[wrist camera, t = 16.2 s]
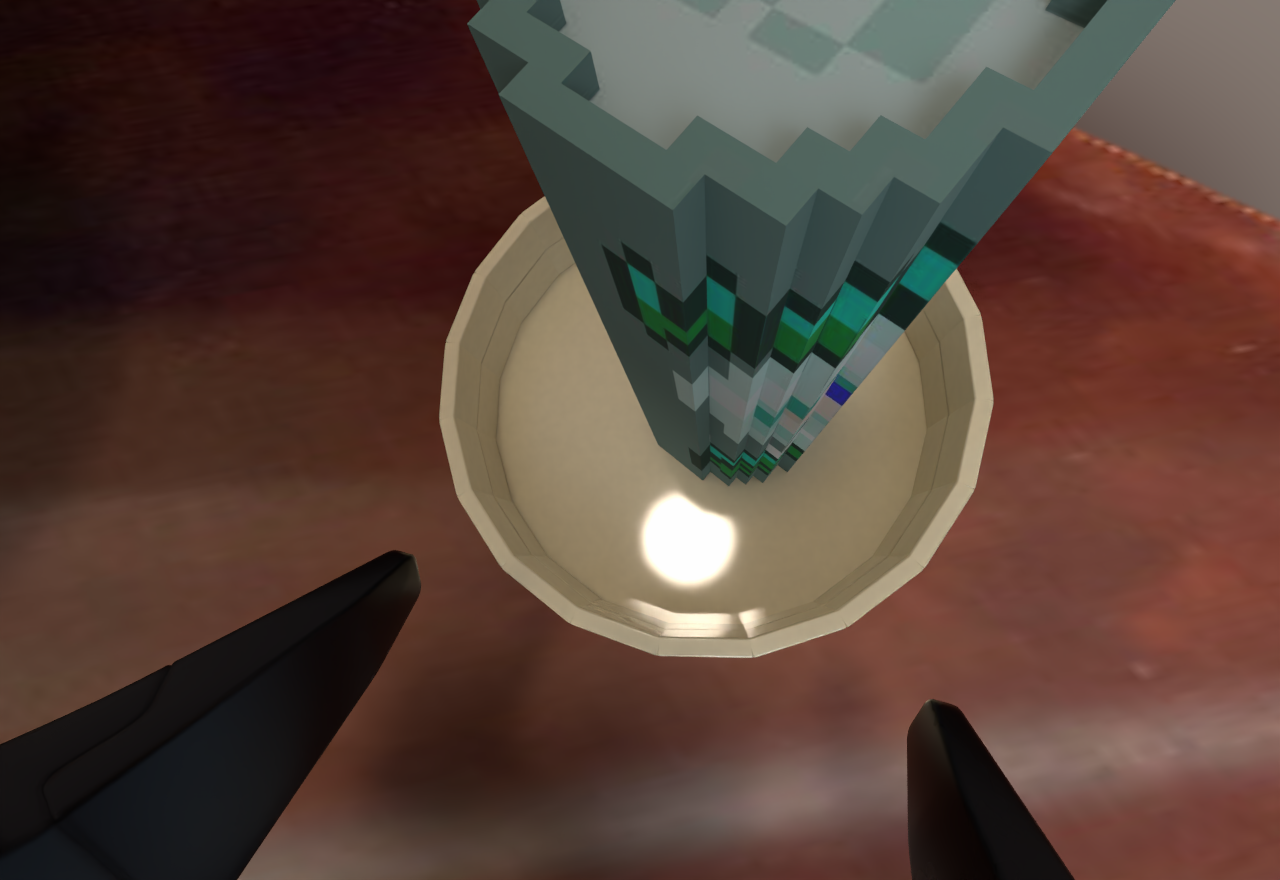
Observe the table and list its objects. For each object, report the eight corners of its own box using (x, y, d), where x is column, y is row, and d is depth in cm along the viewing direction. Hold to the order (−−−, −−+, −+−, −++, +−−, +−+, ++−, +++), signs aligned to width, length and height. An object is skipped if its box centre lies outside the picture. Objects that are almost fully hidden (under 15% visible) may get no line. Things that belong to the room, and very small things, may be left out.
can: (749, 518, 18) (890, 355, 4) (615, 410, 20) (354, -1, 5) (859, 382, 19) (1340, -204, 4) (720, 286, 20) (742, -391, 6)
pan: (961, 641, 17) (1033, 664, 13) (477, 633, 19) (418, 650, 15) (908, 196, 21) (952, 112, 17) (502, 228, 23) (460, 159, 19)
